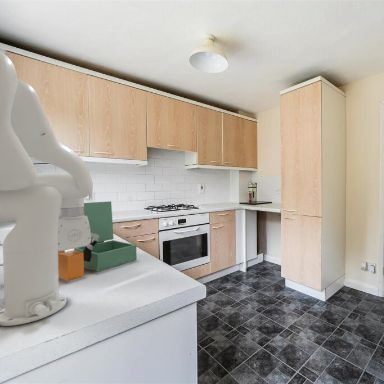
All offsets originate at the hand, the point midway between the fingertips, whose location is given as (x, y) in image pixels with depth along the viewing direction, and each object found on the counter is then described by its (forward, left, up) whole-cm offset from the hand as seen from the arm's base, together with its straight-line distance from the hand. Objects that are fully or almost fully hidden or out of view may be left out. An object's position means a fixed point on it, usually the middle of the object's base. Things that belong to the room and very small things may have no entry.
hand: (70, 265), depth 75 cm
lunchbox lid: (+13, -14, +11) cm, 22 cm away
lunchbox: (+5, -14, -5) cm, 16 cm away
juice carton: (0, 0, -5) cm, 5 cm away
